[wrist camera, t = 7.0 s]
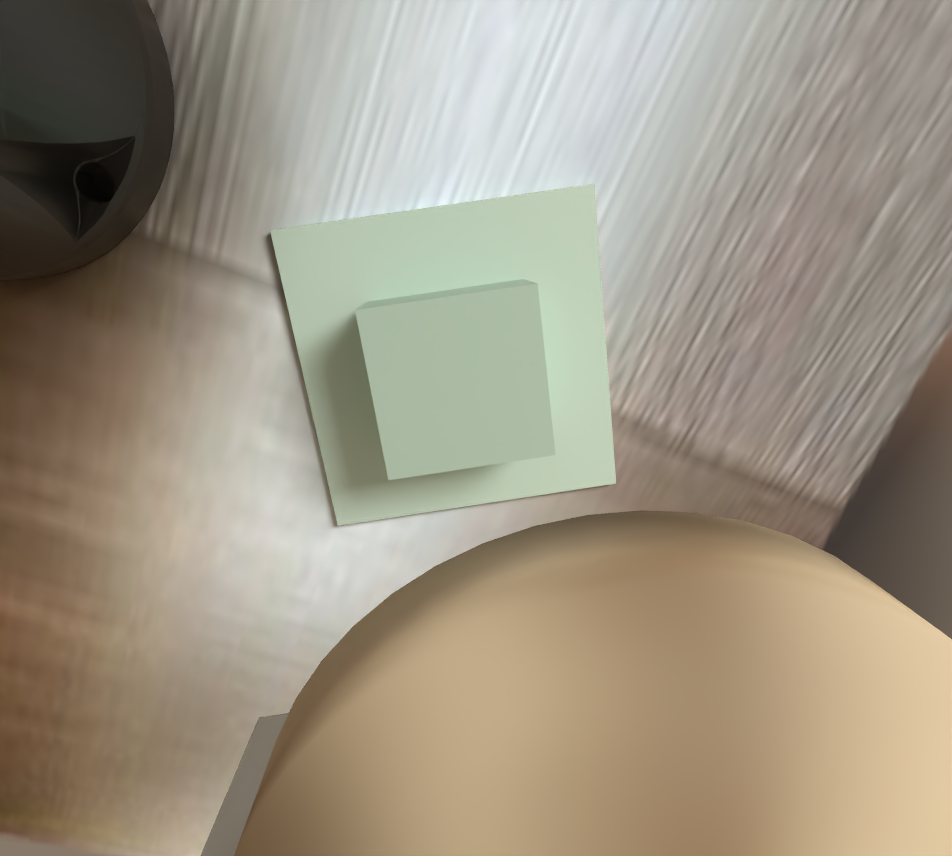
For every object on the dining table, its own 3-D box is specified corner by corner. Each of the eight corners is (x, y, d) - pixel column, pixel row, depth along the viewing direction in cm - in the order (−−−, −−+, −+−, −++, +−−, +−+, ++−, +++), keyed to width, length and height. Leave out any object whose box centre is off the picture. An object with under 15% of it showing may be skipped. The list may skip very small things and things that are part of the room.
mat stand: (339, 522, 29) (322, 567, 25) (272, 230, 25) (239, 226, 21) (613, 480, 30) (642, 518, 25) (592, 185, 25) (622, 171, 21)
